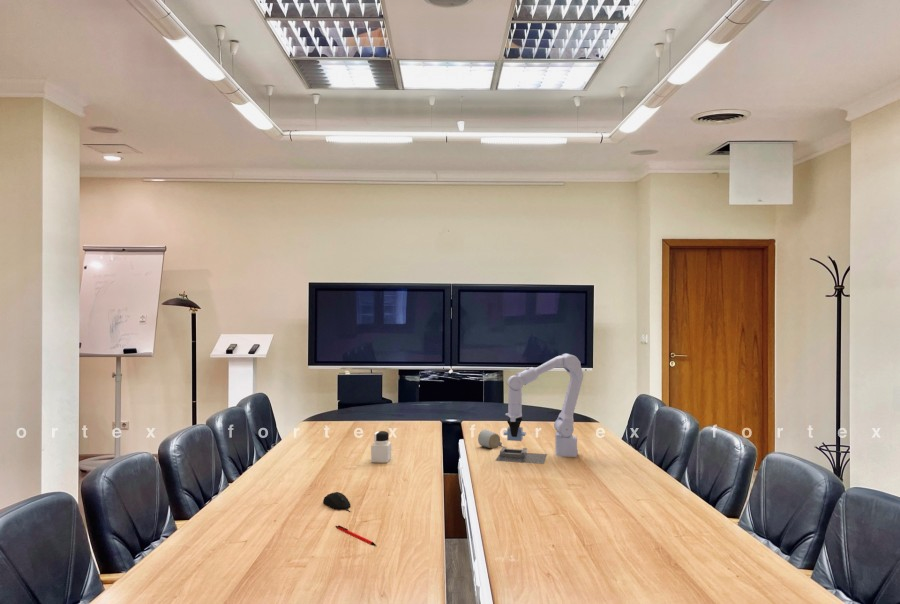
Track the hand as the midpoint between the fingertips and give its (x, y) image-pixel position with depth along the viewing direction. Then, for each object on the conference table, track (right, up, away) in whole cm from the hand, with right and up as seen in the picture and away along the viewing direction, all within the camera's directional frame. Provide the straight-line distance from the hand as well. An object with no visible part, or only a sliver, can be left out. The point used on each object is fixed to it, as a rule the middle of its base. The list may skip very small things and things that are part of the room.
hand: (514, 435), depth 243 cm
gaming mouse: (-64, -9, -61) cm, 88 cm away
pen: (-54, -9, -85) cm, 101 cm away
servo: (0, -2, 0) cm, 2 cm away
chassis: (+3, -9, -4) cm, 10 cm away
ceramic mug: (-9, -10, +18) cm, 23 cm away
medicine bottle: (-57, -9, -5) cm, 58 cm away
